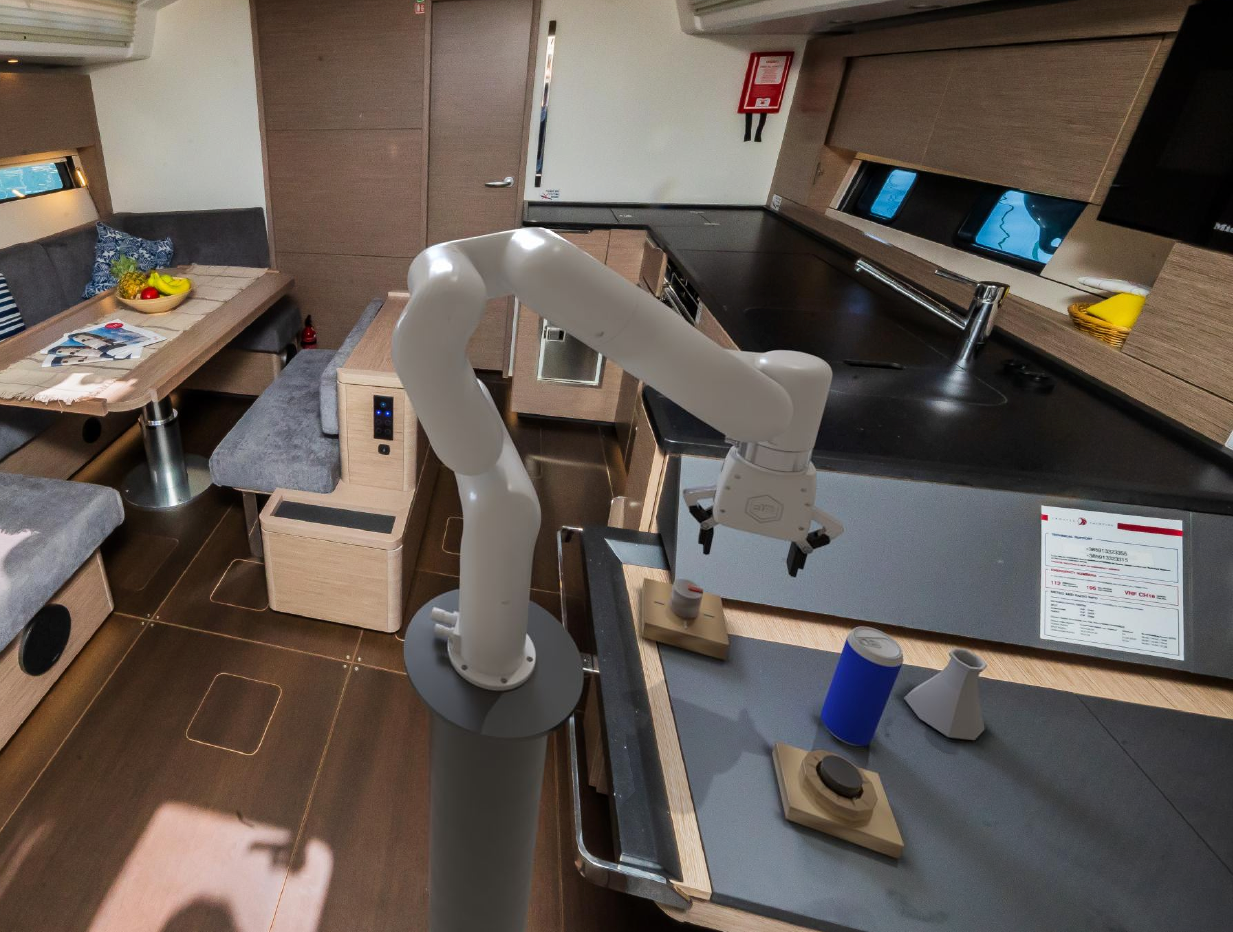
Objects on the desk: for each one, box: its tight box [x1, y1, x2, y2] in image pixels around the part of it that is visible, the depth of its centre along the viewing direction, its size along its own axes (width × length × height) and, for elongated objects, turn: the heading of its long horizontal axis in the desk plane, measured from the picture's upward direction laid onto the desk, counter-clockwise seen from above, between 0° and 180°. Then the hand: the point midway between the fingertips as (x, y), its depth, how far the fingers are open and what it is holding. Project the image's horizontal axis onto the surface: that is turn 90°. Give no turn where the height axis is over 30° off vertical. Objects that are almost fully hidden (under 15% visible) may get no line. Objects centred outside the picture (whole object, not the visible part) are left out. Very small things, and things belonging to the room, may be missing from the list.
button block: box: [771, 741, 905, 860], centre depth 67 cm, size 10×8×4 cm
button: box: [819, 755, 863, 798], centre depth 66 cm, size 4×4×2 cm
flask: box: [903, 647, 988, 741], centre depth 75 cm, size 7×7×10 cm
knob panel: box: [641, 577, 730, 661], centre depth 91 cm, size 11×10×3 cm
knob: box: [669, 578, 704, 619], centre depth 90 cm, size 4×4×4 cm
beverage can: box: [820, 626, 904, 747], centre depth 73 cm, size 5×5×15 cm
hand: (747, 559), depth 79 cm, fingers open, 9 cm apart
